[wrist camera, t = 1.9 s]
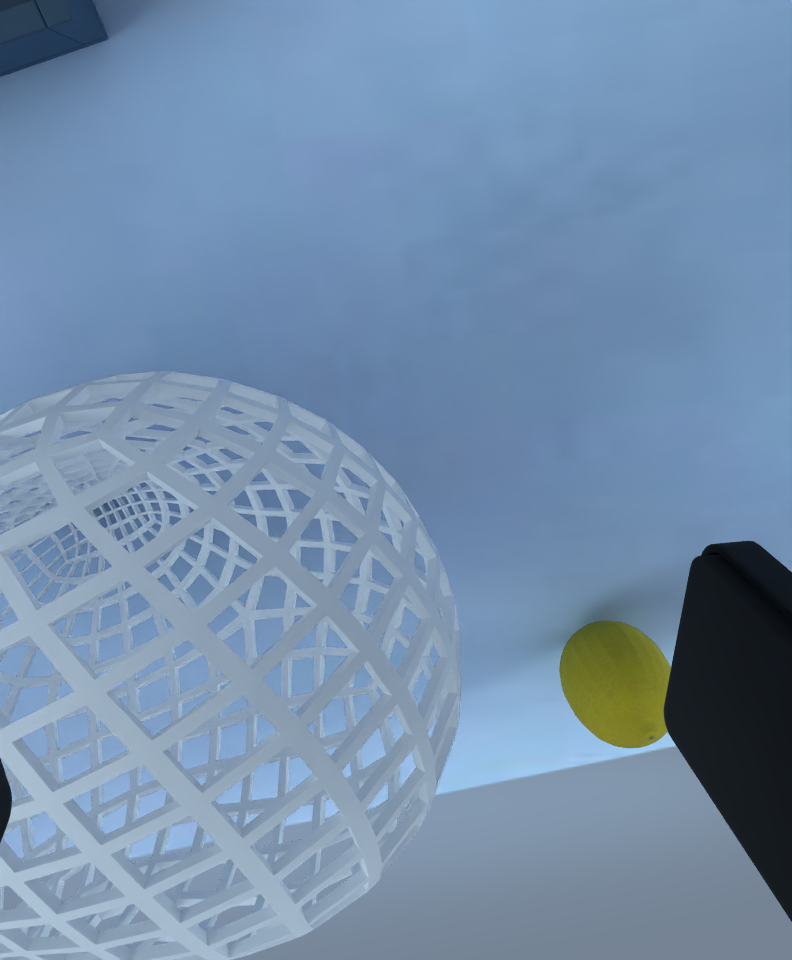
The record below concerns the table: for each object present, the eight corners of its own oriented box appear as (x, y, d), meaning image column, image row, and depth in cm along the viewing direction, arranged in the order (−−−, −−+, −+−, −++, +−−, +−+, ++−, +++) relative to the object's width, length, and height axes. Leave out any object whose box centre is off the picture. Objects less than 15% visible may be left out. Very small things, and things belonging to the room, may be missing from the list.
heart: (290, 207, 29) (310, 362, 10) (435, 505, 36) (619, 952, 17) (-293, 498, 31) (-1295, 1139, 11) (-49, 730, 38) (-406, 1380, 18)
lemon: (536, 675, 42) (588, 785, 35) (546, 596, 40) (604, 697, 33) (625, 668, 43) (694, 774, 36) (641, 590, 41) (718, 687, 34)
